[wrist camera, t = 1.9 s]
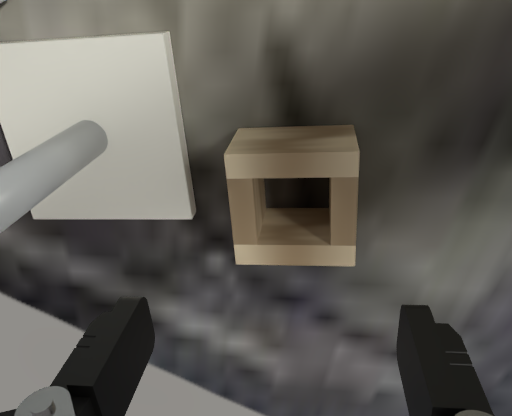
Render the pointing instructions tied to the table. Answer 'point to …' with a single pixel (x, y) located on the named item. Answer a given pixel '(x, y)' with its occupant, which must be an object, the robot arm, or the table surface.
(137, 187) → the post
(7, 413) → the robot arm
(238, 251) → the ring
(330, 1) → the table surface
